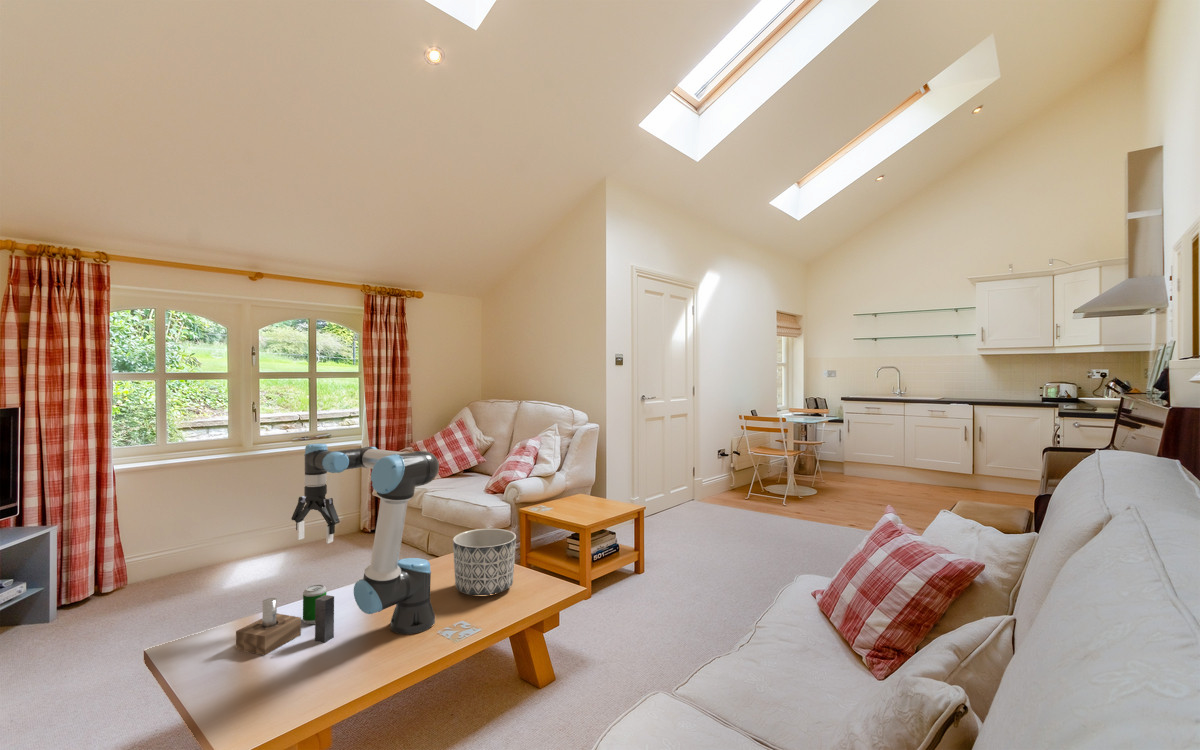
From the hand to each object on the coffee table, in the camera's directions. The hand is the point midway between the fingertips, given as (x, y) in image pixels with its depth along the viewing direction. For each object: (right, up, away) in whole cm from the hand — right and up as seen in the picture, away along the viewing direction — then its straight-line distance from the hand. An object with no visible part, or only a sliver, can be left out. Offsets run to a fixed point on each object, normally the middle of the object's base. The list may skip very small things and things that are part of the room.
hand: (315, 540), depth 201 cm
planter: (+59, -28, +22) cm, 69 cm away
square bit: (+15, -27, -21) cm, 37 cm away
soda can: (+4, -27, -8) cm, 28 cm away
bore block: (-3, -27, -23) cm, 35 cm away
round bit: (-3, -27, -23) cm, 35 cm away
